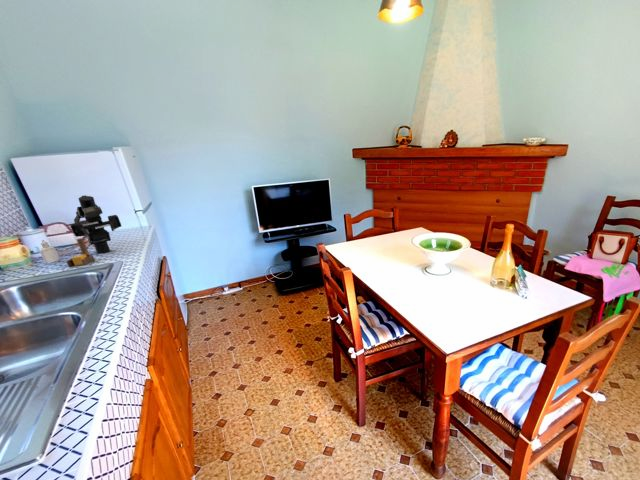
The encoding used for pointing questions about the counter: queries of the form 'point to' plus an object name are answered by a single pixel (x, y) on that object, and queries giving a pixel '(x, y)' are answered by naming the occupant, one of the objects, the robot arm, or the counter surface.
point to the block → (78, 259)
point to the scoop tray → (84, 251)
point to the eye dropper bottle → (48, 253)
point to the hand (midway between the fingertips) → (101, 233)
